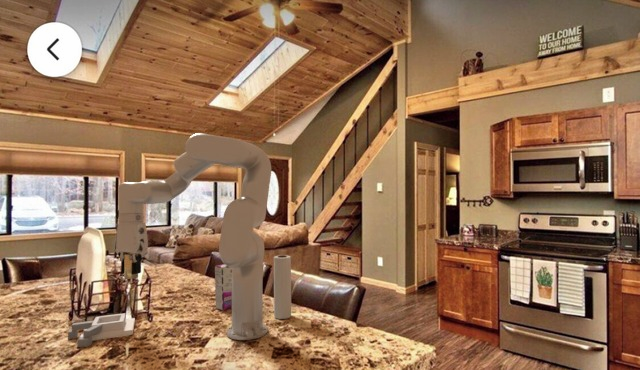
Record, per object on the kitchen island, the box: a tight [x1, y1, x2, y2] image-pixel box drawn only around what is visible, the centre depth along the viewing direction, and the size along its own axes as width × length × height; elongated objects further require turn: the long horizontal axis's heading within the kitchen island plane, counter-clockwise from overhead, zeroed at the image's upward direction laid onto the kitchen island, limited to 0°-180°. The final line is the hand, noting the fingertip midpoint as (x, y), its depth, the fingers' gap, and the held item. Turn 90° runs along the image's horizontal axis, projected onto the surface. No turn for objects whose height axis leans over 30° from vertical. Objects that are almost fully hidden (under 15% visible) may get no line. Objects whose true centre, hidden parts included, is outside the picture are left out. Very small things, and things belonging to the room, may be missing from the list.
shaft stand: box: [67, 312, 136, 348], centre depth 114 cm, size 17×18×4 cm
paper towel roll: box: [273, 254, 292, 320], centre depth 130 cm, size 7×6×21 cm
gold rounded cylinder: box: [122, 253, 139, 280], centre depth 123 cm, size 5×5×8 cm
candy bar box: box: [214, 263, 233, 311], centre depth 142 cm, size 11×5×16 cm, turn 143°
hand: (131, 272), depth 123 cm, fingers closed on gold rounded cylinder, 4 cm apart
